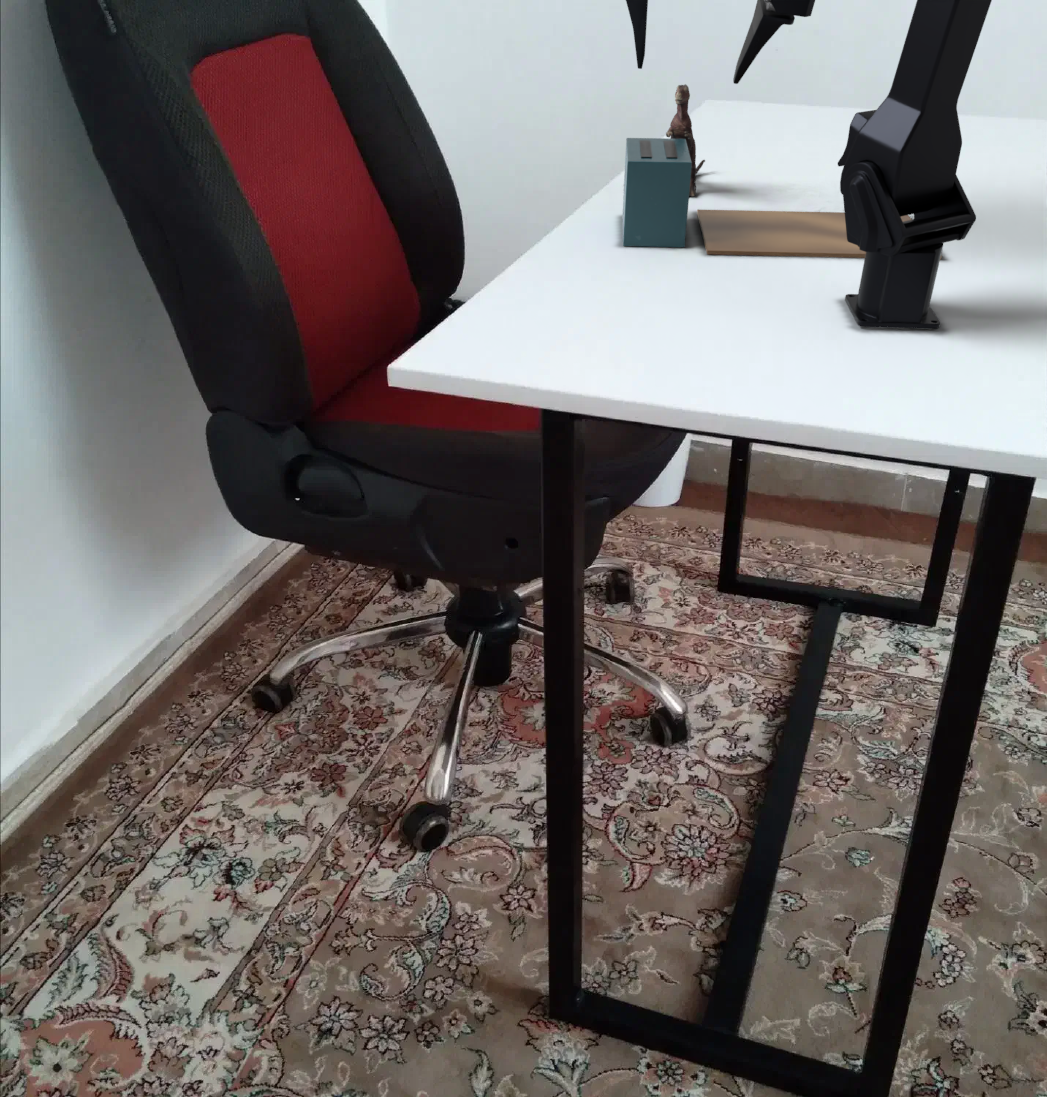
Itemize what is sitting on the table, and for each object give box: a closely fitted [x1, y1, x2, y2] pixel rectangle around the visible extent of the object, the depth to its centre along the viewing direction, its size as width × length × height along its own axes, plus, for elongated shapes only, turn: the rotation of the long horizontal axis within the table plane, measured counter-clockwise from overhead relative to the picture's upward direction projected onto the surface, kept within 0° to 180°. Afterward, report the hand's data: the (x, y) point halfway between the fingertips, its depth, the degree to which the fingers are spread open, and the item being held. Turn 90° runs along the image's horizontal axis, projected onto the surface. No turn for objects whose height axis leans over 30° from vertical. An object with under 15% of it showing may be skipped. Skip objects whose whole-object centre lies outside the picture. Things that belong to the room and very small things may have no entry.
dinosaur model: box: [665, 83, 706, 197], centre depth 117 cm, size 4×12×15 cm
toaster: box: [621, 137, 692, 248], centre depth 103 cm, size 11×6×8 cm, turn 176°
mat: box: [696, 209, 943, 261], centre depth 104 cm, size 14×22×1 cm, turn 86°
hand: (687, 74), depth 98 cm, fingers open, 9 cm apart
